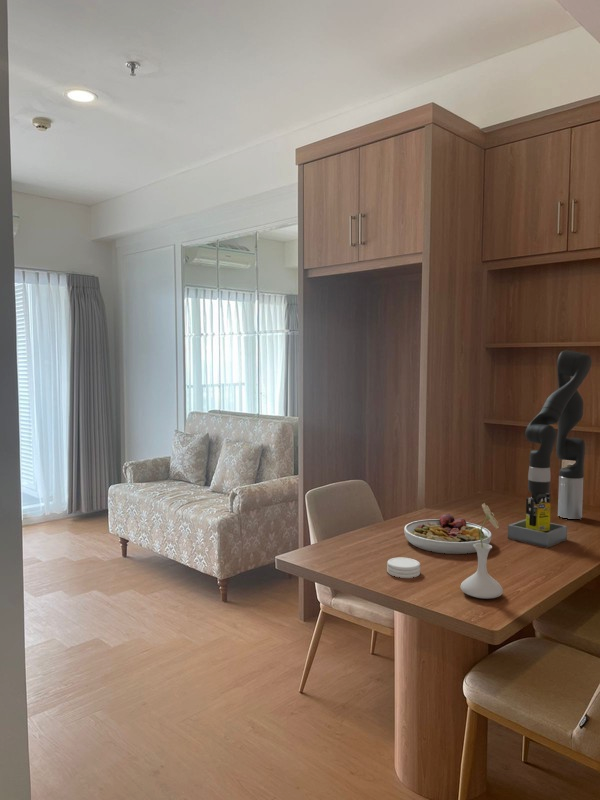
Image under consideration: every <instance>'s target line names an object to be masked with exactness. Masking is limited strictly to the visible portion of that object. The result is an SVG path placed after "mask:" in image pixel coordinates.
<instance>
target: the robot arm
mask: <svg viewBox="0 0 600 800" xmlns="http://www.w3.org/2000/svg"><path fill="white" fill-rule="evenodd" d="M591 366H592V357H591V355H589V354H587V353H583V352H579V351H578V352H577V351H573V350H568V349H567V350H562V351H561V352H560V353H559V355H558V357H557V361H556V374H557V375H556V376H557V384H558V385H557V387H558V388H557V389H556V390H555V391H553V392H552V393H551V394H550V395H548V397H547V398H546V399H545V402H544V404H543V406H542V407H541V410H540V411H539V413H538V414H537V415H536V416H535V417H533V419H532V420H531V421H530V422H529V424H528V425H527V426H526V428H525V438H526V440H527V441H528V442H529V443H532V444H540V447H539V449H533V450H530V452H529V467H528V474H527V491H528V492H529V493H531V494H530V495H531V496H530V497H526V499H525V501H526V502H525V503H526V504H525V515H526V514H529V515H530V519H529V525H531V526H536V514H537V508H536V507H534V504H541V503H542V502H547V503H551V498H552V497H551V496H552V495H551V493H550V492H551V475H552V474H551V455H552V453H553V449H554V446H556V447H555V448H556V449H555V450H556V451H555V453H556V457H557V458H558V460H563V461H575V462H574V463H573V464H572V465H570V466H565V467H562V468H560V469H559V472H558V494H557V495H558V499H557V500H558V501H557V517H558V516H560V517H563V518H568V519H580V520H582V519H583V503H584V502H583V500H584V498H583V497H584V466H585V465H584V464H585V455H586V442H585V440H584V438H577V437H568V435H569V433H570V432H571V431H572V430H573V429H574V428H575V427H576V426H577V425H578V424H579V423H580V422H581V420H582V418H583V416H584V400H583V397H582V396H581V394H580V392H579V391H578V389H579V388H580V386H581V384H582V383H583V382H584V380H585V379H586V378H587V376H588V374H589V372H590V370H591ZM555 424H557V431H556V428H555V427H554V426H553V425H555ZM555 443H556V445H555ZM529 508H530V510H529ZM534 509H535V511H534ZM581 518H582V519H581Z"/></svg>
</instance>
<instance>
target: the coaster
mask: <svg viewBox="0 0 600 800" xmlns="http://www.w3.org/2000/svg"><path fill="white" fill-rule="evenodd" d="M386 564H387V566H386V568H387V569H386V571H387V574H388V575H390V576H392V577H394V576H395V578H399V577H400V579H413V577H414V578H417V577H419V576H420V574H421V563H420V562H419V560H416V559H413V558H410V557H403V556H402V557H393V558H389V559H388V560H387V563H386Z"/></svg>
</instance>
